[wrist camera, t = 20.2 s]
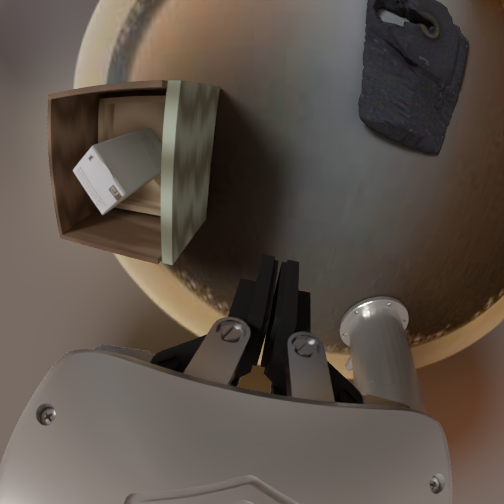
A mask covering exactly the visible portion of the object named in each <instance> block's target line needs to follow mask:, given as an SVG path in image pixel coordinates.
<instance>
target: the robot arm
mask: <svg viewBox="0 0 504 504" xmlns="http://www.w3.org/2000/svg"><path fill="white" fill-rule="evenodd" d="M274 258H275V257H273V256H268V255H263V257H262V262H261V266H260V270H259V274H258V278H257V282H255V281H251V280H246V279H240V282H239V285H238V288H237V291H236V294H235V297H234V300H233V304H232V307H231V310H230V313H229V316H228V317H225V318H221V319H219V320H217V321H216V322H215V323H214V324H213V326H212V327H211V329H210V331H209V332H208V334H207V335H204V336H202V337H199V338H196V339H194V340H191V341H188V342H185V343H183V344H180V345H177V346H175V347H172V348H169V349H166V350H163V351H161V352H159V353H157V354H150V352H149V351H145V350H137V349H130V348H124V347H117V346H111V345H101V346H98V347H96V348H95V349H79V350H74V351H70V352H68V353H67V354H65V355H64V356H62V357H61V358H60V359H59V360H58V361H57V362H56V363H55V364H54V365H53V367H52V368H51V369H50V370H49V372H48V373H47V374H46V376H45V377H44V379H43V380H42V382H41V383H40V384H39V386H38V388H37V389H36V391H35V392H34V394H33V396H32V397H31V399H30V401H29V403H28V404H27V406H26V408H25V410H24V412H23V414H22V415H21V418H20V420H19V421H18V423H17V425H16V427H15V429H14V431H13V434H12V436H11V438H10V441H9V443H8V446H7V448H6V451H5V453H4V456H3V458H2V461H1V464H0V504H452V474H451V464H450V456H449V450H448V445H447V441H446V438H445V434H444V431H443V429H442V426H441V425H440V423H439V422H438V421H437V420H436V419H435V418H433V417H432V416H430V415H428V414H426V410H425V406H424V402H423V398H422V393H421V389H420V385H419V381H418V377H417V373H416V369H415V365H414V361H413V358H412V354H411V350H410V347H409V344H408V340H407V337H406V334H405V329H406V328H407V325H408V321H409V316H408V312H407V309H406V307H405V306H404V304H403V303H402V302H400V301H399V300H397V299H395V298H392V297H384V296H380V297H373V298H369V299H366V300H364V301H361V302H359V303H358V304H356V305H354V306H353V307H352V308H350V309H349V310H348V311H347V312H346V313H345V315H344V316H343V318H342V320H341V323H340V328H339V329H340V336H341V339H342V340H343V342H344V343H345V344H346V345H347V346H349V347H351V353H350V356H351V357H350V358H349V359H348V361H347V362H346V364H345V367H346V369H348V370H353V376H354V386H353V385H352V384H351V383H350V382H349V381H348V380H347V379H346V378H345V377H344V376H343V375H342V374H341V373H340V372H338V371H337V370H336V369H335V368H334V367H333V366H332V365H331V364H330V363H329V362H328V361H327V359H326V354H325V349H324V345H323V343H322V341H321V340H320V339H319V338H318V337H317V336H315V335H314V334H312V333H310V293H309V292H304V291H299V290H298V281H299V262H297V261H292V260H287V262H282V264H281V268H280V272H279V276H278V280H277V284H276V288H275V282H276V276H277V269H278V262H279V261H277V260H274ZM274 289H275V292H274ZM266 331H267V332H266ZM265 335H266V337H265ZM264 338H265V343H264V349H263V355H262V360H261V367H265V370H264V374H265V375H266V376H267V377H268V378H269V379H270V381H271V387H270V388H271V394H269V393H264V392H258V391H253V390H249V389H244V388H239V387H237V386H238V384H239V381H240V378H241V377H242V376H244V375H246V374H248V373H250V372H251V369H252V365H255V366H256V365H257V363H258V359H259V356H260V352H261V349H262V345H263V342H264Z"/></svg>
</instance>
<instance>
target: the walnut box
mask: <svg viewBox="0 0 504 504" xmlns="http://www.w3.org/2000/svg"><path fill="white" fill-rule="evenodd" d="M167 83H168V81H164V80H157V81H137V82H125V83H114V84H106V85H98V86H91V87H85V88H79V89H74V90H68V91H64V92H59V93H54V94H50V95H48V151H49V166H50V176H51V185H52V193H53V200H54V206H55V212H56V218H57V223H58V228H59V233H60V237H61V238H62V239H66V240H70V241H73V242H77V243H80V244H83V245H87V246H91V247H94V248H98V249H102V250H105V251H109V252H113V253H116V254H120V255H124V256H128V257H132V258H135V259H139V260H143V261H147V262H151V263H155V264H159V262H160V261H161V260H162V246H161V216H158V215H153V214H147V213H142V212H136V211H131V210H125V209H119V208H112V209H111V210H110V211H109V212H107V213H106V214H104V215H102V214H101V212H100V211H99V209H98V208H97V207H96V205H95V204H94V202H93V201H92V199H91V198H90V196H89V195H88V193H87V192H86V190H85V189H84V187H83V186H82V184H81V183H80V181H79V180H78V178H77V177H76V175H75V174H74V172H73V169H74V168H75V167H76V165H77V164H78V163H79V161H80V160H81V159H82V158H83V156H84V155H85V154H86V153H87V152H88V150H89V149H90V148H91V147H92V146H93V145H95V144H98V113H99V99H102V98H113V97H128V96H166V92H167Z"/></svg>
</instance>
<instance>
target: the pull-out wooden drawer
mask: <svg viewBox="0 0 504 504" xmlns="http://www.w3.org/2000/svg"><path fill="white" fill-rule="evenodd" d="M219 91H220V87H216V86H211V85H206V84H200V83H194V82H188V81H181V80H168V83H167V92H166V96H128V97H113V98H102V99H99V113H98V143H101V142H104V141H107V140H110V139H113V138H116V137H119V136H123V135H126V134H130V133H133V132H137V131H140V130H144V129H148V128H151V129H152V131H153V132H154V134H155V135H156V137H157V138H158V140H159V141H160V143H161V144H162V160H161V174H159V175H158V176H157V177H156V178H154V179H153V180H152V181H150V182H149V183H147V184H146V185H144V186H143V187H141V188H140V189H139V190H137V191H136V192H134V193H133V194H131V195H130V196H129V197H127V198H126V199H124V200H123V201H122V202H120V203H119V204H118V205H116V206H115V207H114V208H119V209H125V210H131V211H136V212H142V213H147V214H153V215H158V216H161V246H162V263H165V264H169V265H173V264H174V262H175V261H176V260H177V258H178V257H179V255H180V254H181V253H182V251H183V250H184V248H185V247H186V246H187V244H188V243H189V242H190V240H191V239H192V237H193V236H194V235H195V233H196V232H197V231H198V229H199V228H200V227H201V225H202V224H203V223H204V221H205V220H206V214H207V201H208V189H209V178H210V167H211V157H212V148H213V139H214V130H215V122H216V113H217V106H218V98H219Z"/></svg>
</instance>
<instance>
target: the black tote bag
mask: <svg viewBox="0 0 504 504" xmlns="http://www.w3.org/2000/svg"><path fill="white" fill-rule="evenodd" d="M379 9H387V10H389V11H392V12H394V13H396V14H397V15H399V16H400V17H407V19H408V20H409V21H411V22H413V23H410V22H404V27H403V26H399V25H396V24H392V23H387V22H383V21H382V20H381V18H380V17H379V16H378V15H377V14H376V12H377V10H379ZM414 23H415V24H414ZM366 24H367V25H366V28H365V32H366V36H365V39H366V41H365V42H364V45H365V47H364V53H363V65H364V66H365V67H364V69H363V76H362V77H363V79H362V93H361V95H360V98H359V102H358V105H359V116H360V119H361V120H362V121H363V122H364V123H365V124H366V125H367V126H368V127H370V128H371V129H374V130H376V131H378V132H379V133H381V134H384V135H385V136H387V137H388V138H391V139H392V140H396V141H399V142H401V143H403V144H404V145H406V146H408V147H411V148H415V149H420V150H421V151H422V152H424V153H437V154H438V153H439V151H440V149H441V146H442V143H443V141H444V138H445V133H446V129H447V127H448V125H449V122H450V120H451V117H452V112H453V110H454V107H455V104H456V102H457V97H458V92H459V87H460V85H461V80H462V75H463V72H464V64H465V60H466V52H467V47H468V42H469V41H468V40H467V38H466V37H464V36H463V34H462V33H461V31H460V27H458V26H456V25H455V24H453V22H452V17H451V15H450V14H449V12H448V9H447V8H446V7H445V6H444V5H443V4H441V3H440V2H438V1H436V0H368V3H367V15H366Z"/></svg>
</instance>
